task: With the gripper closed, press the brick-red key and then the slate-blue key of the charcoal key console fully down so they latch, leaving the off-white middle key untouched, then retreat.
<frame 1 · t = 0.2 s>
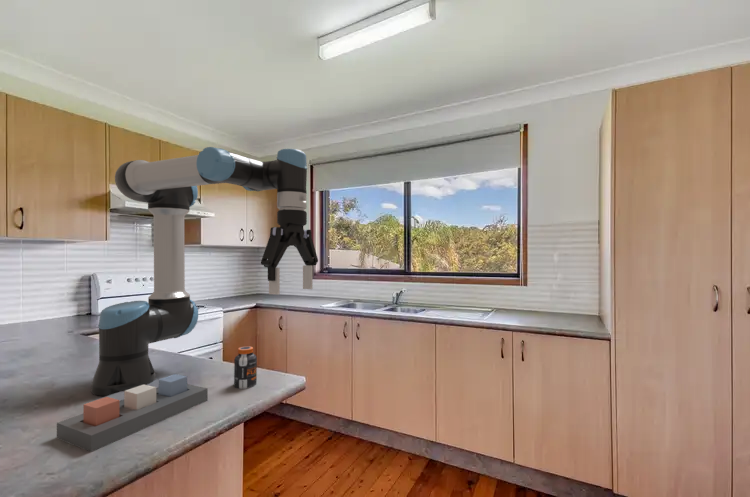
hand: (291, 291, 96), 28 cm above the countertop, fingers open, 13 cm apart
key red: (101, 412, 76), point 5 cm above the countertop, slide at 0.0 cm
key blue: (173, 386, 91), point 5 cm above the countertop, slide at 0.0 cm
console: (140, 421, 83), on the countertop
pill bottle: (245, 388, 104), on the countertop
key white: (140, 397, 83), point 5 cm above the countertop, slide at 0.0 cm
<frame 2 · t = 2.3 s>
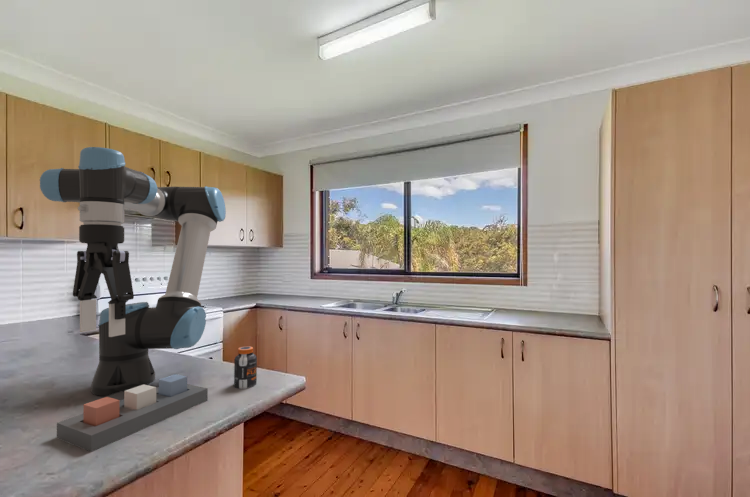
hand: (102, 333, 76), 22 cm above the countertop, fingers open, 9 cm apart
nothing on the countertop moved.
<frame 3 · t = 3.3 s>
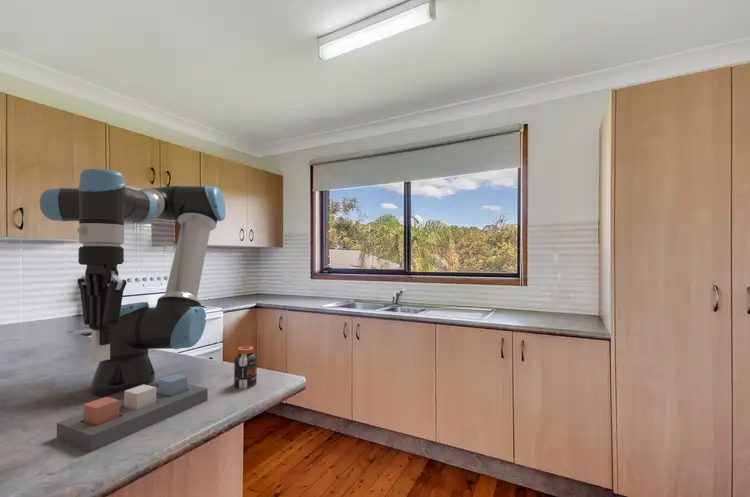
hand: (100, 360, 76), 16 cm above the countertop, fingers closed
nothing on the countertop moved.
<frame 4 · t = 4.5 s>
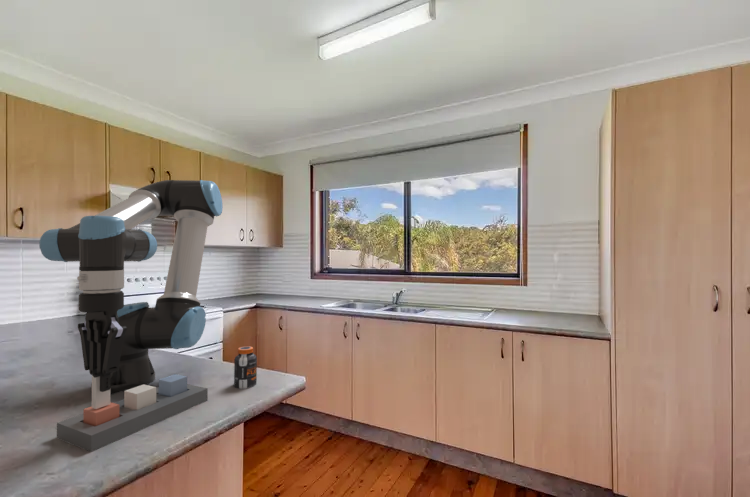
hand: (101, 405, 76), 7 cm above the countertop, fingers closed
key red: (101, 416, 76), point 4 cm above the countertop, slide at 0.9 cm, touching gripper
everything else where it was.
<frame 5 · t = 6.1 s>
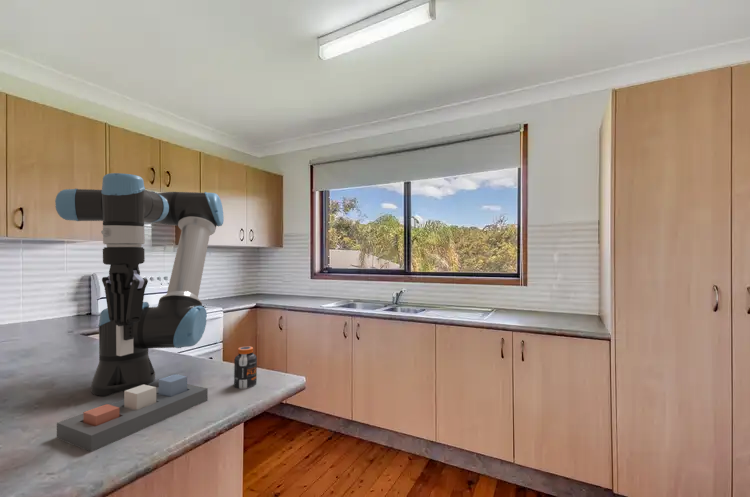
hand: (125, 353, 81), 16 cm above the countertop, fingers closed
key red: (101, 419, 76), point 4 cm above the countertop, slide at 1.6 cm
everything else where it was.
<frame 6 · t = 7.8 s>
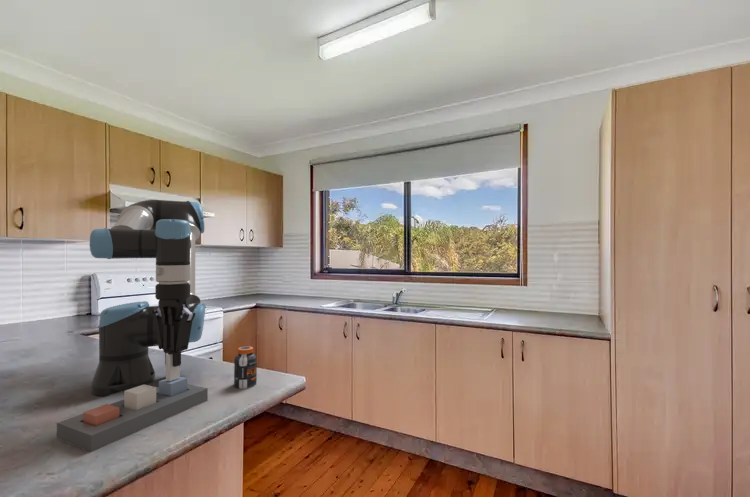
hand: (173, 378, 90), 7 cm above the countertop, fingers closed
key blue: (173, 387, 91), point 5 cm above the countertop, slide at 0.5 cm, touching gripper
everything else where it was.
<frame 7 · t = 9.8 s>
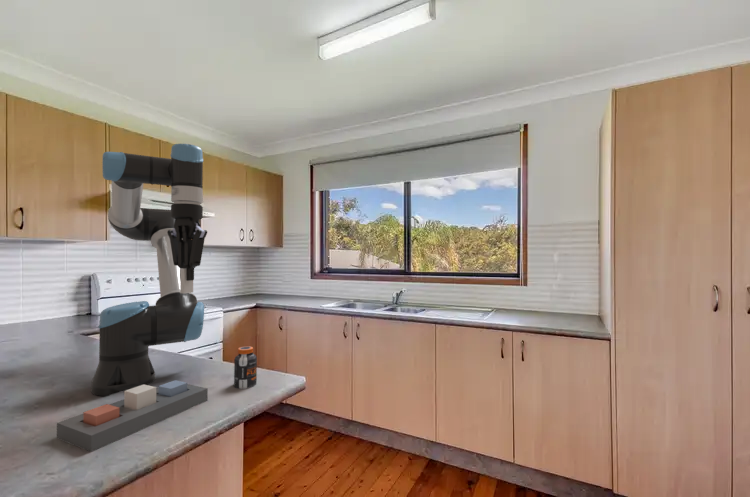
hand: (186, 292, 98), 27 cm above the countertop, fingers closed
key blue: (173, 392, 91), point 4 cm above the countertop, slide at 1.6 cm
everything else where it was.
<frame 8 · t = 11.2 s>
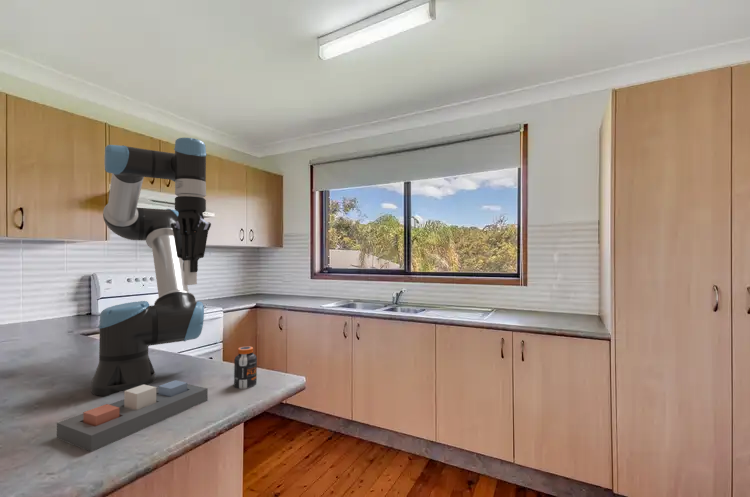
hand: (190, 284, 100), 29 cm above the countertop, fingers closed
nothing on the countertop moved.
at the end: key red slide at 1.6 cm; key blue slide at 1.6 cm; key white slide at 0.0 cm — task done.
